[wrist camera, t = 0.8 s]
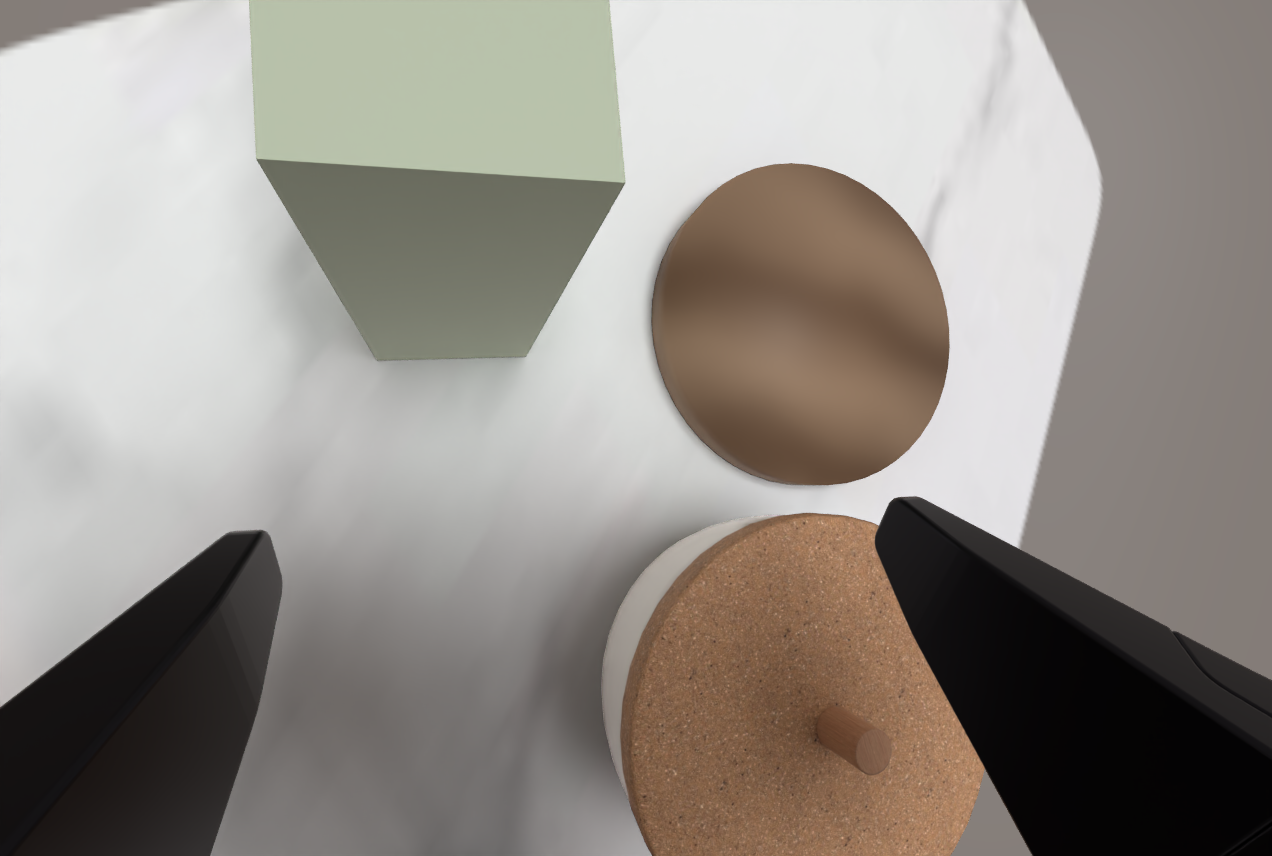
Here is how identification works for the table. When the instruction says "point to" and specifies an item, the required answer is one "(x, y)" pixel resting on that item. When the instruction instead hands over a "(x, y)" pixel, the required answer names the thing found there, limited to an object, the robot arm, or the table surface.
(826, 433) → the disc
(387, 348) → the post
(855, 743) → the lidded jar
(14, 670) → the table surface
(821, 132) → the table surface
